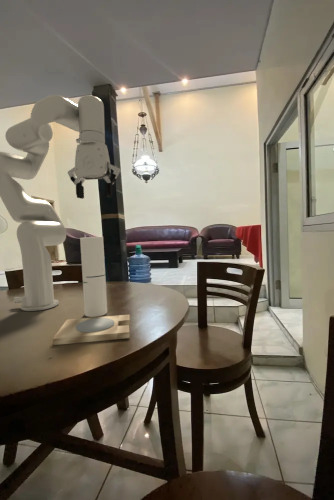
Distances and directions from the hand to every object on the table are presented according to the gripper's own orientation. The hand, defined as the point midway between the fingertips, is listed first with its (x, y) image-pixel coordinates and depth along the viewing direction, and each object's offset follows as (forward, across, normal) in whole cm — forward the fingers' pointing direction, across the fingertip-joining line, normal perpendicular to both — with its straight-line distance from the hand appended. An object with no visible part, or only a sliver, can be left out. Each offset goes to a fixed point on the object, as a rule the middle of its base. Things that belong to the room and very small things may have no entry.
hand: (94, 197), depth 81 cm
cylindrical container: (+38, -1, +1) cm, 38 cm away
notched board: (+37, +6, -14) cm, 40 cm away
